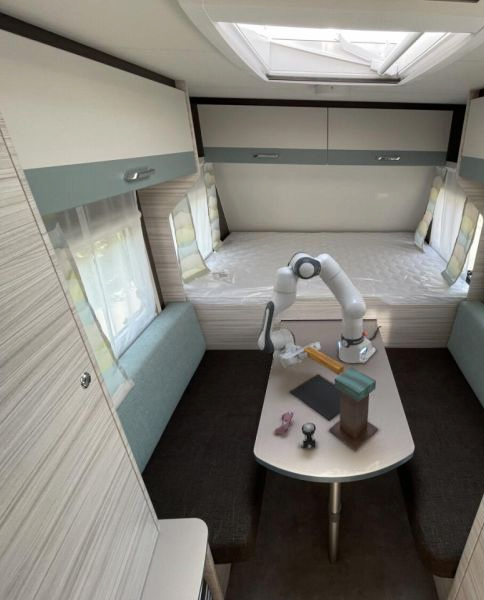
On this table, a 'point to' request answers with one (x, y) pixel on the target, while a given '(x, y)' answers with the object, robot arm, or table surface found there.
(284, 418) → the pink irregular piece
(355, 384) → the stand
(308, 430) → the black silver upright piece
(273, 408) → the table surface
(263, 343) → the robot arm
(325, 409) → the mat
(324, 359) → the ochre bar
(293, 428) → the table surface
